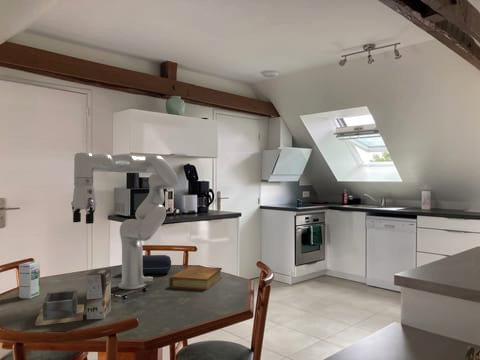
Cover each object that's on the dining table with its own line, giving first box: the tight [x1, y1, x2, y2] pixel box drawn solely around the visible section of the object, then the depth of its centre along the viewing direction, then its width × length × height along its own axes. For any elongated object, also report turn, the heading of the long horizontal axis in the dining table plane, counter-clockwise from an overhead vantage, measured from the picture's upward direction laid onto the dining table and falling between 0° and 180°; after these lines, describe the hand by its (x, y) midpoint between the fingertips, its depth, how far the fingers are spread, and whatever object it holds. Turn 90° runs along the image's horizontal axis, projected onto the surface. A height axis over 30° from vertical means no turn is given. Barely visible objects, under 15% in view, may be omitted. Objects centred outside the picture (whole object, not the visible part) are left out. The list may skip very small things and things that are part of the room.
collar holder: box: [34, 289, 85, 327], centre depth 139 cm, size 15×15×7 cm
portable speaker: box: [143, 254, 172, 275], centre depth 203 cm, size 25×10×10 cm, turn 93°
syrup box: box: [18, 261, 41, 299], centre depth 163 cm, size 6×6×14 cm
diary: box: [168, 265, 223, 291], centre depth 185 cm, size 23×19×6 cm
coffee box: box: [86, 268, 112, 320], centre depth 140 cm, size 9×6×16 cm
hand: (83, 222), depth 159 cm, fingers open, 9 cm apart
